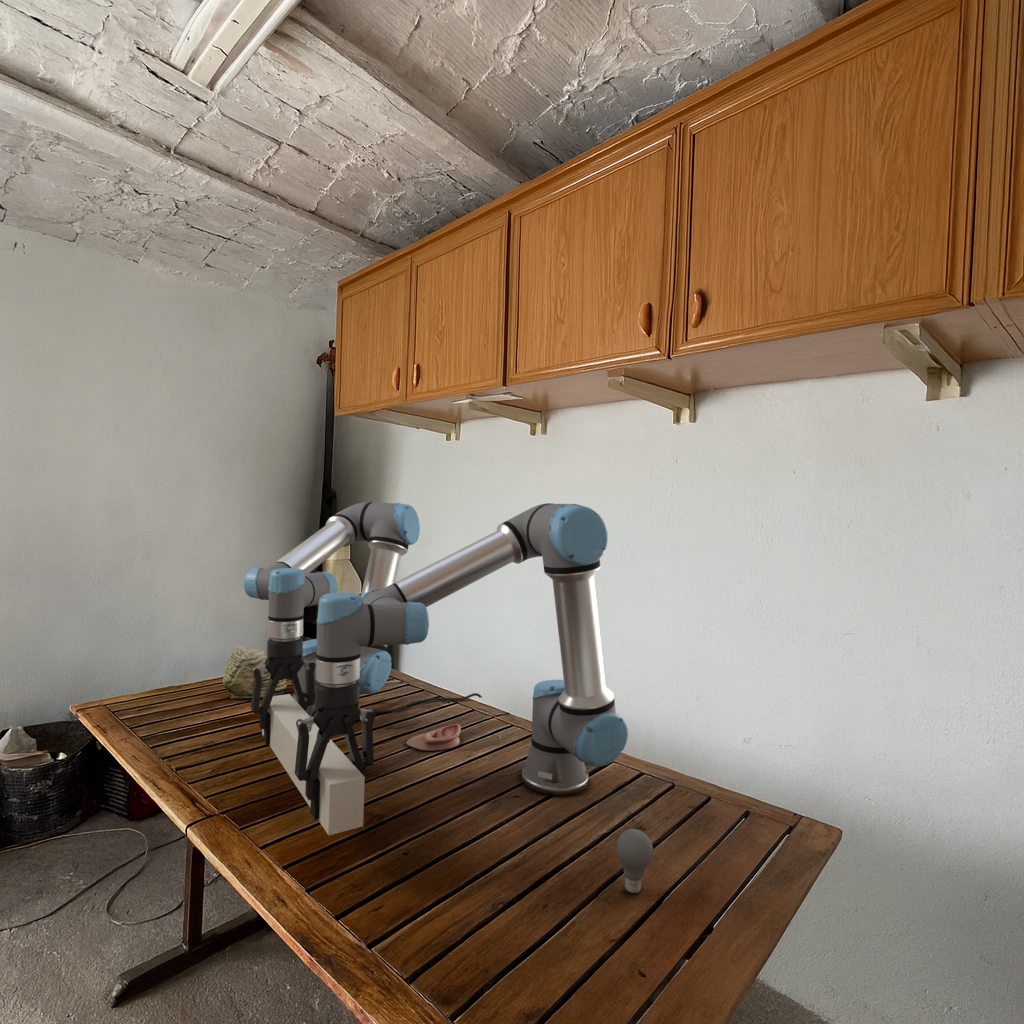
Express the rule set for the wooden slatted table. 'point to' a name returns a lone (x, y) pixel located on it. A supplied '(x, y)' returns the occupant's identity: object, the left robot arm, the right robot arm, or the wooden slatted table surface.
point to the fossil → (247, 673)
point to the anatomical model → (437, 738)
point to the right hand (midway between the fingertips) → (333, 810)
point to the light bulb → (634, 857)
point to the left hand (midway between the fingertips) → (282, 739)
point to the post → (335, 773)
